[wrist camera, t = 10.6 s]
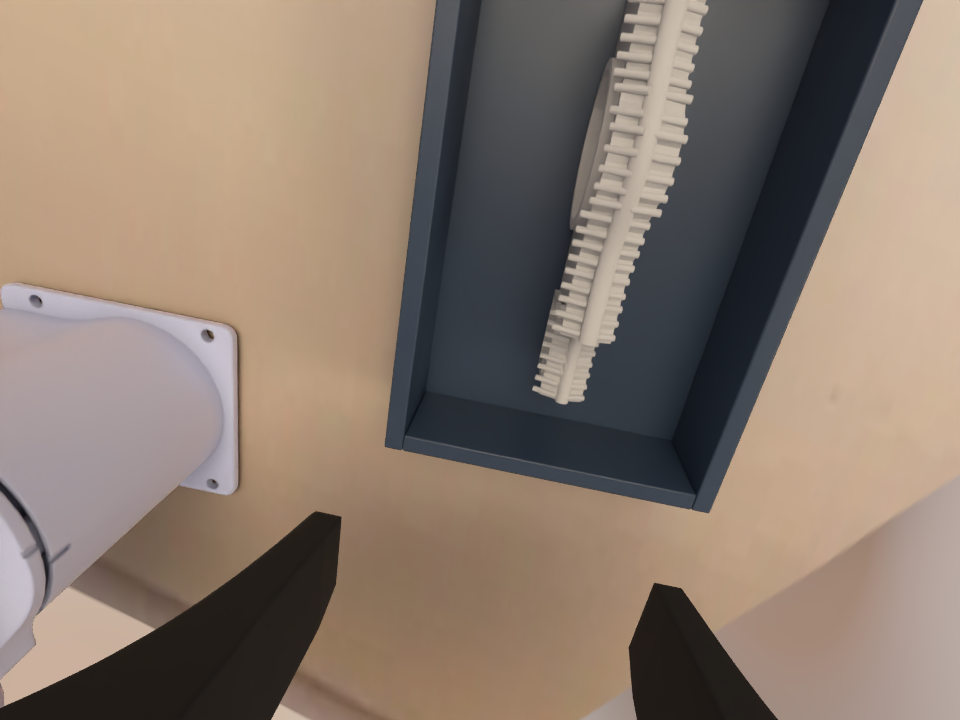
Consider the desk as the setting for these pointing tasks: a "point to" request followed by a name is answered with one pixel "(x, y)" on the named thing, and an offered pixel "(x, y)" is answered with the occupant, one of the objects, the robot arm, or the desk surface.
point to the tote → (663, 257)
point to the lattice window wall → (620, 183)
